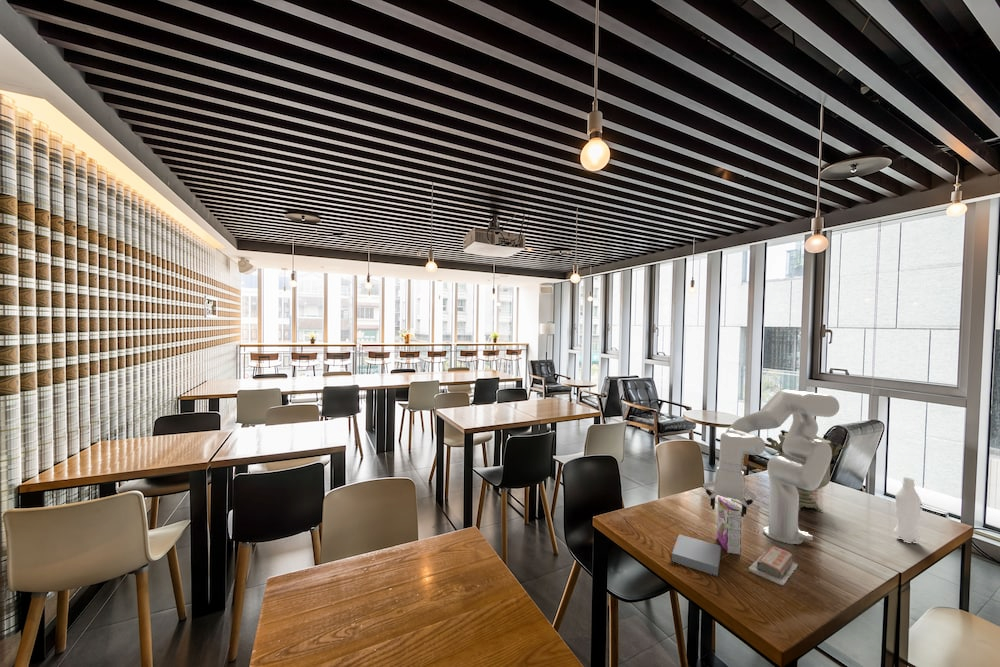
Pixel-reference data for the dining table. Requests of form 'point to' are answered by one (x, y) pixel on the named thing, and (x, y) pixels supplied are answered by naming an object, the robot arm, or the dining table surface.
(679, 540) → the base plinth
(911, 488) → the water bottle
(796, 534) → the robot arm
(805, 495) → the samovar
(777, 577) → the packaged product
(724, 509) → the candy bar box
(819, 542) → the dining table surface
